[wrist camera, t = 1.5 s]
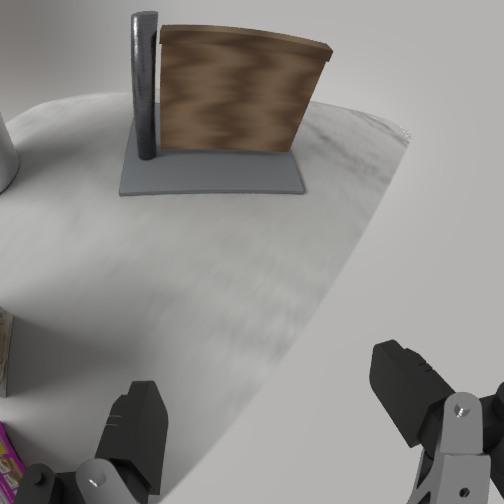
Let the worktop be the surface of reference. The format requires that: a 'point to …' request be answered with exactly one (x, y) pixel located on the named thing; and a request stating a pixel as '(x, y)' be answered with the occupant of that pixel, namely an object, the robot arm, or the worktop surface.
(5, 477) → the candy bar box
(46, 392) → the worktop surface
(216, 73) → the gate
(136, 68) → the hinge post
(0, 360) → the coffee box
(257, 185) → the mat
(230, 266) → the worktop surface
